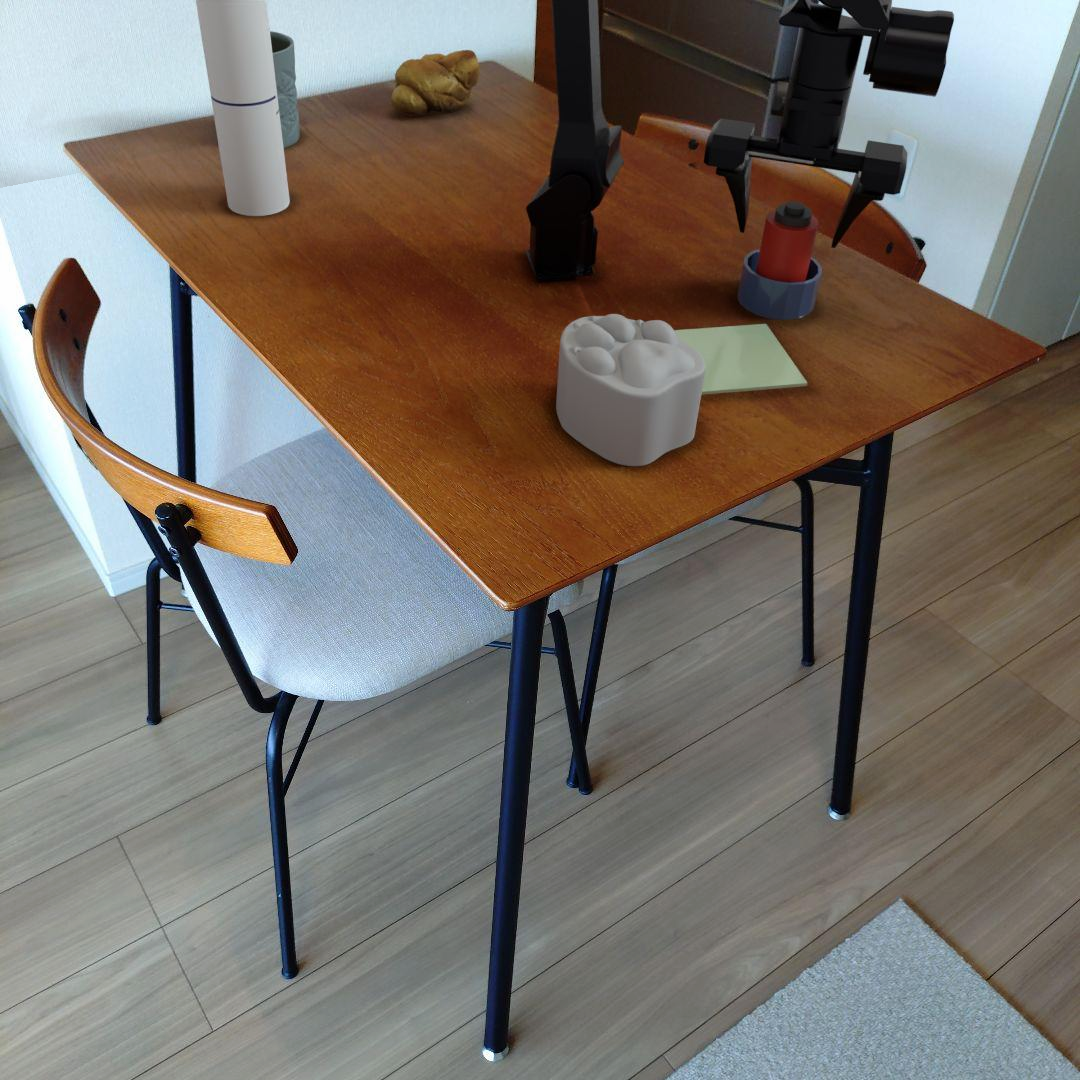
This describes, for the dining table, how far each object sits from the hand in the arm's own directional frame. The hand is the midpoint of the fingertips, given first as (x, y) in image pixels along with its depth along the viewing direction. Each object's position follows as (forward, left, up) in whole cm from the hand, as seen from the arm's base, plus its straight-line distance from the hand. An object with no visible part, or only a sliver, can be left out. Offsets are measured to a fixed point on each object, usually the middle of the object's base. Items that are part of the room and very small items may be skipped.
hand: (787, 238), depth 109 cm
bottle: (0, 0, -7) cm, 7 cm away
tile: (-8, -11, -7) cm, 15 cm away
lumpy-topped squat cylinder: (-22, -18, -8) cm, 29 cm away
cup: (0, 0, -7) cm, 7 cm away
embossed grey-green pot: (-52, +51, -8) cm, 73 cm away
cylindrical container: (-53, +31, -8) cm, 62 cm away
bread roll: (-29, +60, -8) cm, 67 cm away
